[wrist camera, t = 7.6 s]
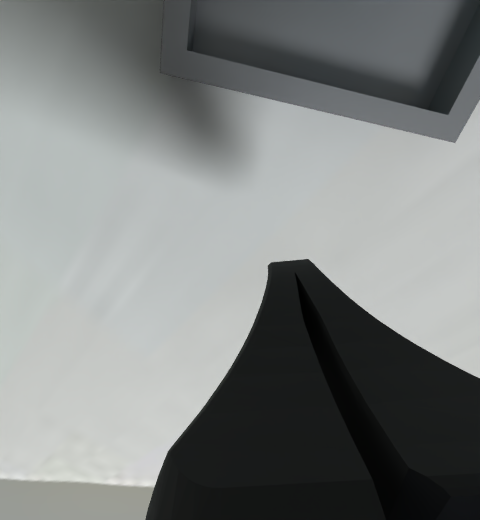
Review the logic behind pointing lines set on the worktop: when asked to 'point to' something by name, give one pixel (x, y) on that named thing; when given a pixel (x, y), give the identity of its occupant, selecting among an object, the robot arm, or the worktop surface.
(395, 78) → the tray
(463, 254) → the worktop surface
